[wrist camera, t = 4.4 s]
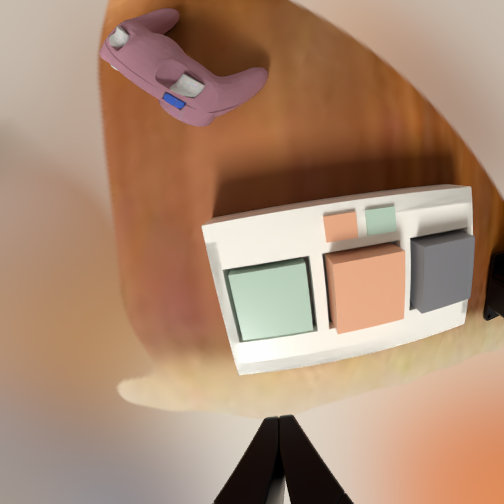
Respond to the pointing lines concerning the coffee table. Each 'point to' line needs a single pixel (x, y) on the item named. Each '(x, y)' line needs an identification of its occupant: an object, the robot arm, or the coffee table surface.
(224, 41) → the coffee table surface
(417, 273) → the charcoal key
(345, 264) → the terracotta key
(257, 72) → the video game controller
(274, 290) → the sage key
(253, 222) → the pad
